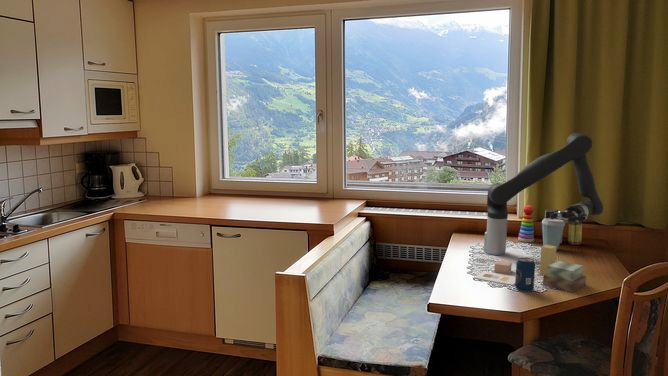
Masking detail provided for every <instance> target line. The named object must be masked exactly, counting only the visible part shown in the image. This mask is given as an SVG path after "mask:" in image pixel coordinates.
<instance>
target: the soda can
mask: <svg viewBox="0 0 668 376" xmlns="http://www.w3.org/2000/svg"><path fill="white" fill-rule="evenodd" d="M515 265H516V267H515V277H516V278H515V284H514V286H515V289H516V290H517V291H520V292H523V293H524V292H525V293H526V292H527V293H528V292H532V291H533V290H534V287H535V276H536V275H535V274H536V262H535V260H534V259H533V258H531V257H523V256H522V257H519V258H518V260H517V261H516V263H515Z"/></svg>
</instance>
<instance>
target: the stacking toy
mask: <svg viewBox="0 0 668 376" xmlns="http://www.w3.org/2000/svg"><path fill="white" fill-rule="evenodd" d="M522 210H523V215H522V218H521V226H520V230H519V232H518V237H517V239H518V241H520V242H522V243H534V241H535V238H534V237H535V235H534V233H535V230H534V229H535V227H534V224H535V223H534V220H533V218H534V215H533V213H534V212H535V211H534V207H533V206H532V205H530V204H527V205H525V206H524V207H523V208H522Z"/></svg>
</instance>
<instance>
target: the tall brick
mask: <svg viewBox="0 0 668 376" xmlns="http://www.w3.org/2000/svg"><path fill="white" fill-rule="evenodd" d="M540 248H541V249H540V260H539V261H540V262H539V264H540V265H539V275H542V276H544V275H546V274H547V271H548V265H550V264H552V263H555V262H557V261H556V260H557V250H556V246H551V245H544V246H543V245H542V246H541V247H540Z"/></svg>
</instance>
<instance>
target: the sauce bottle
mask: <svg viewBox="0 0 668 376" xmlns="http://www.w3.org/2000/svg"><path fill="white" fill-rule="evenodd" d="M582 230H583V222H580V221H578V222H570V221H568V235H567V237H568V238H567V239H568V240H567V241H568V244H569V245H574V246H579V245H581V244H582V239H583V238H582V234H583V231H582Z"/></svg>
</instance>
